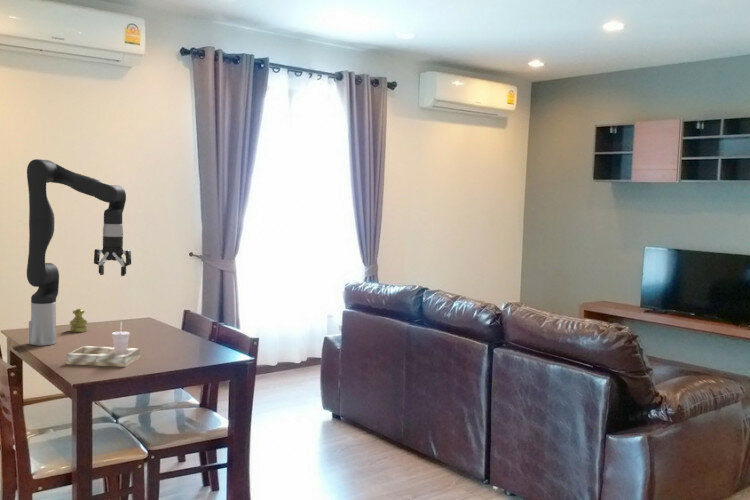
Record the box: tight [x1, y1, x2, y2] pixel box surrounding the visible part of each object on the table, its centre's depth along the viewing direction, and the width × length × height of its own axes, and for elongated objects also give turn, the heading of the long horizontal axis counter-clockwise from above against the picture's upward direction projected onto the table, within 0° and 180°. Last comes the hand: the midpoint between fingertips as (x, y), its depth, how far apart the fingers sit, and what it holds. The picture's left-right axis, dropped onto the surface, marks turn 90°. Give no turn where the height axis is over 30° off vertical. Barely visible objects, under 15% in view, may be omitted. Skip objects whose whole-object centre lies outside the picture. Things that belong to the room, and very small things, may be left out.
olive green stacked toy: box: [69, 308, 88, 333], centre depth 304 cm, size 7×7×10 cm
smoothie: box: [111, 321, 131, 355], centre depth 253 cm, size 6×6×14 cm
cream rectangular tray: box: [65, 345, 141, 368], centre depth 254 cm, size 22×14×4 cm, turn 89°
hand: (112, 275), depth 271 cm, fingers open, 8 cm apart
